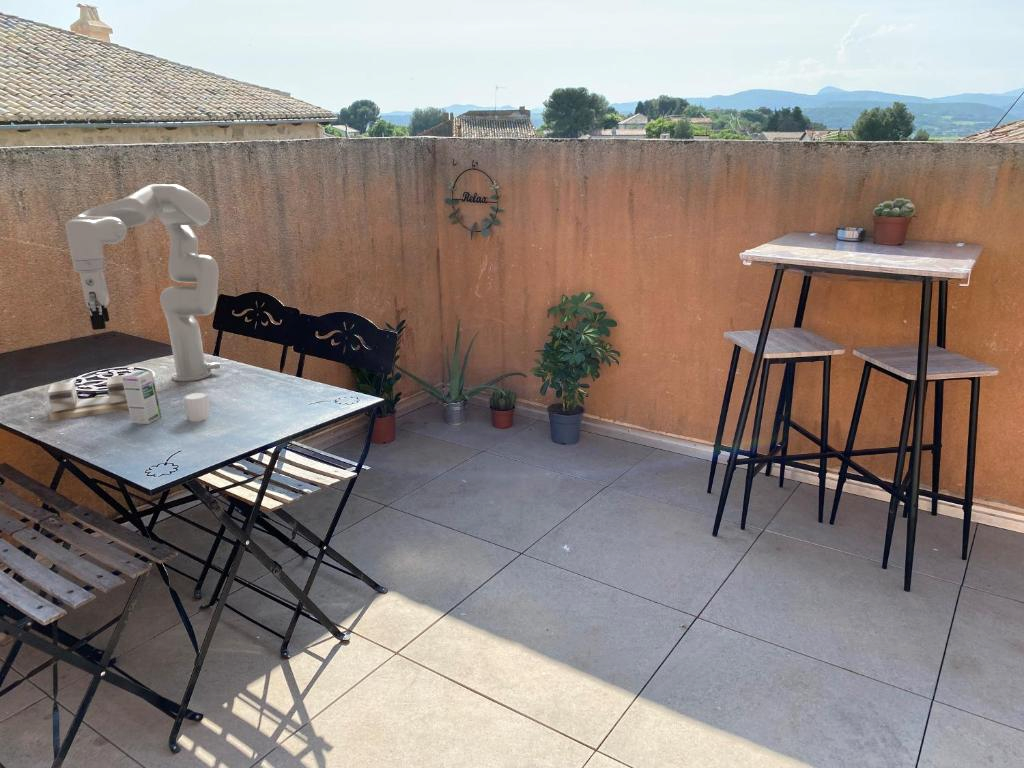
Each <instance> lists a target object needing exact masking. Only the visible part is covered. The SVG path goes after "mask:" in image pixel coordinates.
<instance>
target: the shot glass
mask: <svg viewBox="0 0 1024 768" xmlns="http://www.w3.org/2000/svg"><path fill="white" fill-rule="evenodd" d="M182 401H183V403H184V407H185V411H186V414H187V418H188V420H189V422H190V421H191V422H202V421H206V420H208V419H209V418H210V417H211V414H210V397H209V393H208V392H204V391H196V392H192V393H188V394H185V395H184V396H183V397H182Z"/></svg>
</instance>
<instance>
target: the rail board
mask: <svg viewBox="0 0 1024 768" xmlns="http://www.w3.org/2000/svg"><path fill="white" fill-rule="evenodd" d="M125 375H126V374H124V375H123V374H122V375H116V376H115V375H114V376H109V377H107V381H106V389H107V393H108V394H107V395H104V396H97V397H90V398H83V399H79V397H78V392H77V389H76V387H77V386H76V383H75V381H69V382H68V381H67V382H60V383H53V384H50V386H49V388H48V391H47V396H48V400H49V404H50V408H51V409H50V415H49V418H50V422H52V420H54V421H60V420H67V419H73V418H81V417H87V416H95V415H99V414H108V413H113V412H114V413H115V412H121V411H129V408H128V404H127V399H126V395H125V390H124V386H123V381H122V377H123V376H125Z"/></svg>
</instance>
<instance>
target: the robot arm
mask: <svg viewBox="0 0 1024 768" xmlns="http://www.w3.org/2000/svg"><path fill="white" fill-rule="evenodd" d="M211 215H212V212H211V209H210V206H209V205H208V203H207V202H206V201H205V200H204V199H203V198H201V197H199V195H196V194H195V193H193V192H192V191H190V190H189V189H187V188H185V187H184V186H181V185H179V184H167V183H166V184H165V183H164V184H163V183H153V184H152V183H151V184H148V185H146V186H143V187H142V188H139V189H138V190H137V191H134V192H133V193H132V194H128V196H126V197H124V198H122V199H117V200H114V201H110V202H108V203H105V204H100V205H97V206H95V207H91V208H89V209H86V210H85V211H83V212H81V213H79V214H78V215H76V216H75V217H74V218H73V219H70V220H67V221H66V222H65V224H64V225H65V231H66V233H65V234H66V237H67V243H68V246H69V247H68V248H69V252H70V254H71V261H72V265H73V269H74V272H75V273H79V277H80V282H81V288H82V293H83V298H84V302H85V305H86V307H87V308H89V319H90V322H91V327H92V331H96V330H105V329H107V326H106V322H110V316H109V311H108V307H107V306H108V304H109V302H110V295H109V292H108V288H107V287H108V286H107V282H106V278H105V274H104V271H105V270H107V268H106V263H105V258H104V253H103V248H102V245H103V244H105V245H106V244H119V243H120V242H123V240H125V238H126V237H127V233H128V232H127V231H128V229H127V228H131V227H136V226H141V225H144V224H145V223H146V222H148V221H149V220H151V219H153V218H154V217H155V216H158V218H159V220H160V221H161V223H162V224H163V226H164V227H165V229H166V231H167V233H168V235H169V239H170V240H169V241H170V246H169V247H170V248H169V258H168V267H167V268H168V272H167V273H168V277H169V278H170V279H171V280H172V281H174V282H176V283H184V284H196V286H189V285H173V286H172V285H171V286H168V287H166V288H164V289H163V290H162V291H161V293H160V296H159V303H160V306H161V308H162V311H163V314H164V316H165V319H166V322H167V327H168V333H169V339H170V343H171V344H170V345H171V350H172V356H173V361H174V367H175V371H174V373H172V374H171V378H172V380H174V381H176V382H194V381H199V380H203V379H206V378H208V377H210V376H211V375H212V370H213V369H214V370H218V369H221V364H220V362H218V363H217V362H207V360H206V359H205V353H204V349H203V348H204V346H203V341H202V334H201V327H200V325H199V322H198V320H197V319H196V318H195V316H208V315H211V314H212V313H213V312H214V311H215V310H216V309H215V308H216V306H217V299H218V289H219V279H220V277H219V276H220V273H219V272H220V270H219V266H218V263H217V261H216V259H215V258H214V257H212V256H211V255H207V254H199V240H198V237H197V235H196V233H195V232H194V231H193V229H192V228H191V226H192V227H195V226H196V227H197V226H198V227H200V226H201V227H203V226H205V225H207V224H208V223H209V222H210V220H211Z"/></svg>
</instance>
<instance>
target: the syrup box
mask: <svg viewBox="0 0 1024 768" xmlns="http://www.w3.org/2000/svg"><path fill="white" fill-rule="evenodd" d="M124 375H125V376H123V377H122V381H123V386H124V390H125V395H126V399H127V404H128V408H129V410H128V413H129V417H130V422H131V423H132V424H138V425H139V424H141V425H150V424H151V423H153V422H155V421H156V420H158V419H161V418H162V412H161V407H160V404H159V398H158V394H157V388H156V383H155V379H154V375H153V371H151V370H135V371H133V372H130V373H128V374H124Z"/></svg>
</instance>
